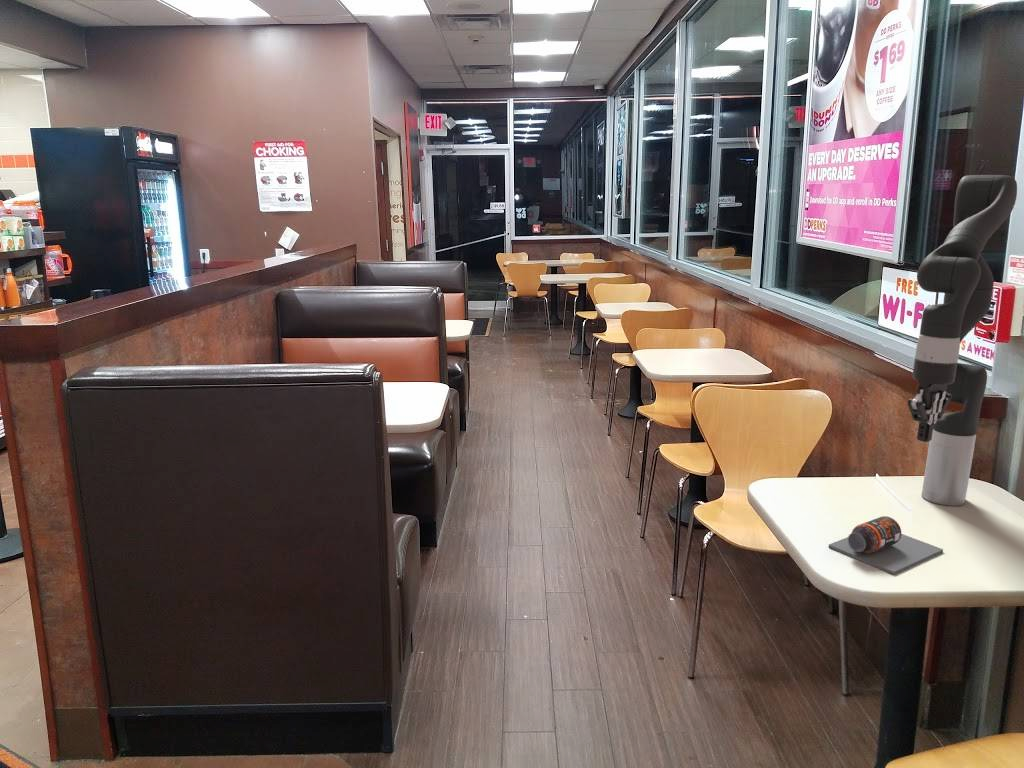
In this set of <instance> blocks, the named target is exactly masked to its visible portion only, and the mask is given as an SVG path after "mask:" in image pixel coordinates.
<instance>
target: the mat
mask: <svg viewBox="0 0 1024 768" xmlns="http://www.w3.org/2000/svg"><path fill="white" fill-rule="evenodd" d="M828 548H830V549H832V550H834V551H836V552H839V553H841V554H844V555H846V556H848V557H851V558H853V559H856V560H858V561H860V562H863V563H865V564H866V565H867V564H868V565H870V566H872V567H875V568H877V569H879V570H882V571H883V572H886V573H888V574H891V575H893V576H894V575H896V574H899V573H901V572H902V571H905V570H907V569H910V568H912V567H913V566H916V565H918V564H920V563H922V562H925V561H926V560H929V559H930V558H931V559H932V558H934V556H938V555H939V554H941V553H944V548H941V547H938V546H935V545H933V544H930V543H927V542H924V541H922V540H919V539H916V538H914V537H911V536H909V535H906V534H903V533H901V538H900V540H899V541H898V542H897V543H895V544H893V545H891V546H888V547H886V548H883V549H881V550H878V551H876V552H873V553H863V552H856V551H854V550H853V549H851V547H850V546H849V544H848V536H847V537H844V538H842V539H839V540H837V541H834V542H832V543H829V544H828Z"/></svg>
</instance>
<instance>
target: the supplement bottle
mask: <svg viewBox="0 0 1024 768" xmlns="http://www.w3.org/2000/svg"><path fill="white" fill-rule="evenodd" d="M901 534H902V528H901V526H900V525H899V522H897V520H895V519H894V518H892V517H890V516H887V515H886V516H885V515H883V516H879V517H877V518H873V519H871V520H869V521H866V522H863V523H861V524H857V525H856V526H855V527H854V528H853V529H852V531H851V533H850V534H848V536H847V537H848V544H849V546H850V547H851V549H853V550H854V551H856V552H863V553H873V552H876V551H878V550H881V549H883V548H886V547H888V546H891V545H893V544H895V543H897V542H898V541H899V540H900V538H901Z"/></svg>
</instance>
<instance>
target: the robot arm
mask: <svg viewBox="0 0 1024 768" xmlns="http://www.w3.org/2000/svg"><path fill="white" fill-rule="evenodd" d="M1017 194H1018V183H1017V180H1016V178H1015V177H1013V176H1011V175H1005V174H979V175H978V174H971V175H970V174H968V175H964V176H962V178H960V180H959V182H958V184H957V187H956V191H955V199H954V209H953V211H954V212H953V223H952V226H953V228H952V229H951V230H950V231H949V233H948V234H947V236H946V238H945V239H944V241H943V243H942V244H941V245H940V246H938V248H936V249H934V250H933V251H932V252H930V253H929V254H928V255H927V256H926V257H925V258H924V259H923V260H922V261H921V263H920V265H919V267H918V270H917V273H916V280H917V284H918V286H919V287H920V288H921V289H922V290H924V292H925V291H926V292H929V293H940V294H941V293H942V294H944V296H943V303H936V304H930V305H927V306H925V307H924V308H923V311H922V315H921V323H920V329H919V335H918V340H917V343H916V347H915V353H914V354H915V355H914V362H913V368H912V378H913V379H914V380H915V381H917V382H918V384H917V388H916V390H915V396H914V398H909V399H907V406H908V408H909V412H910V414H911V418H912V420H913V421H915V422H918V430H917V437H916V438H917V440H918V441H920V442H924V443H928V442H929V443H928V444H929V445H928V450H927V454H926V455H927V456H926V462H925V463H926V465H925V468H924V469H925V470H924V476H923V484H922V487H921V488H922V490H921V497H922V498H923V499H924V500H927V501H928V502H932V503H934V504H938V505H941V506H942V505H944V506H950V507H952V506H954V507H955V506H956V507H957V506H963V505H964V504H965V503H966V499H967V498H966V497H967V492H968V486H969V480H970V475H971V469H972V463H973V457H974V456H973V455H974V451H975V444H976V440H977V439H976V438H977V431H978V427H979V421H980V415H981V409H982V404H983V400H984V395H985V392H986V388H987V383H988V373H987V370H986V368H985V367H984V366H981V365H975V364H970V363H961V362H958V361H959V354H960V344H961V342H962V341H963V340H964V338H966V336H967V335H968V334H969V333H970V332H971V331H973V329H974V328H975V327H976V326H977V325H978V324H979V323H980V322H981V321H982V320H983V318H984V317H985V316H986V315H987V314H988V312H989V310H990V308H991V304H992V297H993V291H994V290H993V289H994V282H995V281H994V276H993V273H992V270H991V268H990V267H989V264H988V263H987V261H986V259H985V258H984V256H983V255H982V252H983V250H984V248H985V246H986V244H987V242H988V241H989V239H990V238H991V237H992V236H993V234H994V233H996V232H997V230H998V229H999V228H1000V227H1001V226H1002V224H1003V223H1004V222H1005V221H1006V220H1007V218H1009V216H1010V214H1011V213H1012V211H1013V210H1014V207H1015V204H1016V202H1017V197H1018V196H1017ZM950 403H955V404H962V405H963V408H962V409H960V410H957V411H953V412H947V413H945V411H946V409H947V407H948V406H949V405H950Z"/></svg>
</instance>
